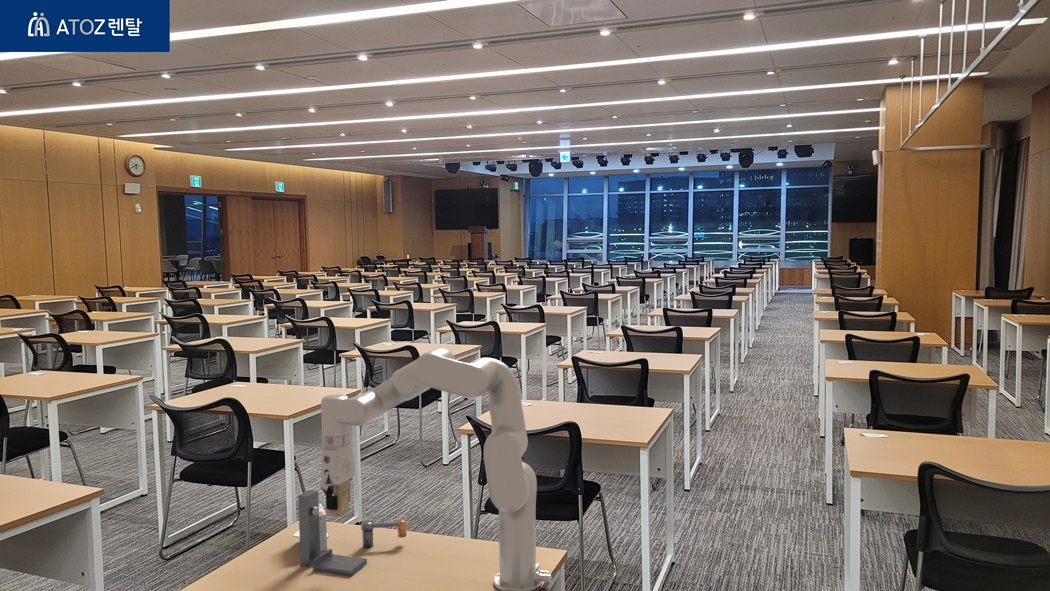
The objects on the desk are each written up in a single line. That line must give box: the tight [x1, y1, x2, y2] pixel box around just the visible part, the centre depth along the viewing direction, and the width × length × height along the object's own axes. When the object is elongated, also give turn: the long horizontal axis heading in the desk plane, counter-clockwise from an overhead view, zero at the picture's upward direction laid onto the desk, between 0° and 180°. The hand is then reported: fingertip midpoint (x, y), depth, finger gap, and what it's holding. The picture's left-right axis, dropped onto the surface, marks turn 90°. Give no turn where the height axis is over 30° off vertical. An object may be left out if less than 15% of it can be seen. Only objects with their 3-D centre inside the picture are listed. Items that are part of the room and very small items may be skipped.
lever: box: [360, 519, 407, 538], centre depth 216 cm, size 13×4×5 cm, turn 97°
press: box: [297, 489, 368, 577], centre depth 202 cm, size 17×8×20 cm, turn 72°
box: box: [326, 480, 350, 518], centre depth 201 cm, size 5×4×11 cm
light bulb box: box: [319, 503, 328, 552], centre depth 217 cm, size 11×7×11 cm, turn 25°
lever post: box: [361, 529, 374, 549], centre depth 216 cm, size 3×3×5 cm
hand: (338, 504), depth 201 cm, fingers closed on box, 5 cm apart
